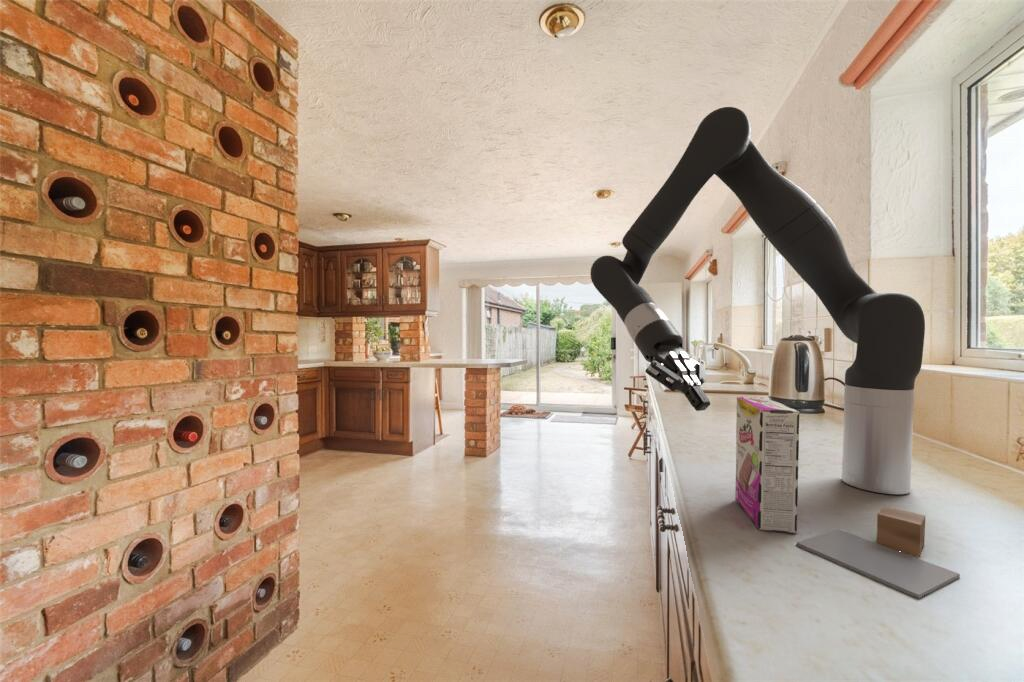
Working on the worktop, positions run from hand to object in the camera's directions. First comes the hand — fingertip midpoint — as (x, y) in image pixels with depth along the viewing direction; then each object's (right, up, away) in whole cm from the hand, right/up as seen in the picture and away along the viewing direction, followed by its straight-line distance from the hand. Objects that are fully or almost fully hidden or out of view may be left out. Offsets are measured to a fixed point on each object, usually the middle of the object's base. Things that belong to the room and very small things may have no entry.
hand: (704, 407), depth 73 cm
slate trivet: (+10, -15, -21) cm, 28 cm away
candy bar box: (+4, -14, -9) cm, 18 cm away
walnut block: (+17, -15, -17) cm, 28 cm away
